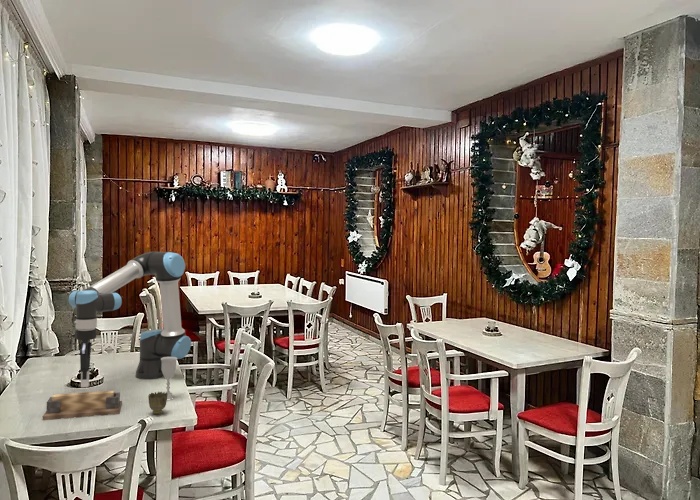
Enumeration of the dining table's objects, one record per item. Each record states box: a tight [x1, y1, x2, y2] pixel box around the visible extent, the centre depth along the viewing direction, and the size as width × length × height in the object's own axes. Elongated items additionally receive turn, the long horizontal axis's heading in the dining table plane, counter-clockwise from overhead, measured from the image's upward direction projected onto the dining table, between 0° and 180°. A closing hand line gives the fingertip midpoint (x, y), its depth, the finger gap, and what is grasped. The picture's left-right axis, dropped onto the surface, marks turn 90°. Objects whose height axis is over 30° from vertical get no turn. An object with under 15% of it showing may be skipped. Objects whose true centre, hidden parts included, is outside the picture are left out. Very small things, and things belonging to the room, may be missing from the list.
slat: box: [51, 390, 115, 411], centre depth 202 cm, size 22×3×6 cm, turn 110°
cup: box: [147, 391, 168, 415], centre depth 204 cm, size 8×7×8 cm
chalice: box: [161, 357, 178, 400], centre depth 222 cm, size 7×7×18 cm
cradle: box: [42, 391, 123, 421], centre depth 203 cm, size 27×12×6 cm, turn 110°
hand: (84, 386), depth 202 cm, fingers closed
